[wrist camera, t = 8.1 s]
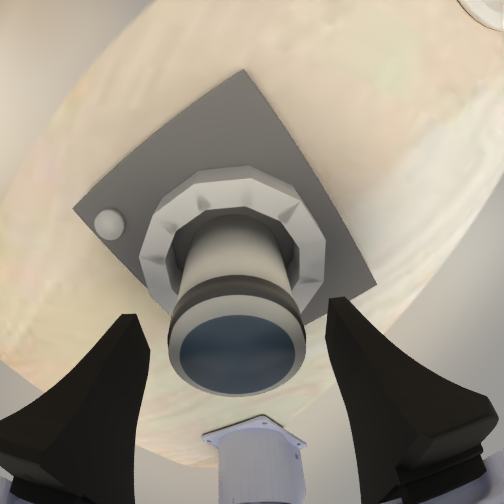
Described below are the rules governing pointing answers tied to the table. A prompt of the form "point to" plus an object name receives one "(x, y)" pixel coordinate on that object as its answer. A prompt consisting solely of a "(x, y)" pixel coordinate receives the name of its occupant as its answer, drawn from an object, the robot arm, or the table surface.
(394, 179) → the table surface
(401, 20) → the table surface
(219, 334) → the lens
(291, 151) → the camera body
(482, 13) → the candle
